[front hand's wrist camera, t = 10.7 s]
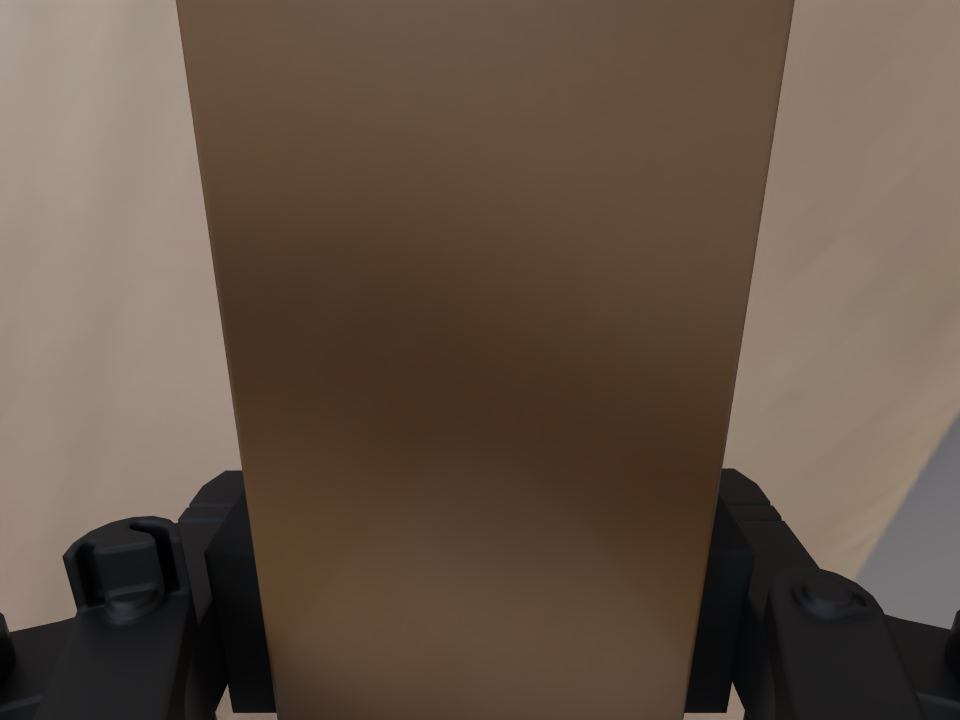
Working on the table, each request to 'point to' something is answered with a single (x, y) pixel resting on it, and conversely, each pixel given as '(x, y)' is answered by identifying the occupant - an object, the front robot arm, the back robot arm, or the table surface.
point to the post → (482, 335)
